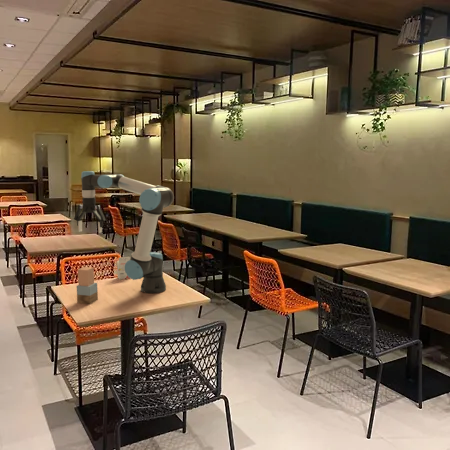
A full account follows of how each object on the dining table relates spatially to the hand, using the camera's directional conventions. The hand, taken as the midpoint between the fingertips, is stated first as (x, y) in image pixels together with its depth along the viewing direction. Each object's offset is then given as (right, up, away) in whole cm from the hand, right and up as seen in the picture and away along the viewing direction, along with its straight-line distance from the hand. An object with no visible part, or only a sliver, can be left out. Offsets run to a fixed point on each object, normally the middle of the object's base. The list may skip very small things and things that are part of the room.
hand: (90, 232), depth 271 cm
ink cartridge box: (+15, -31, +28) cm, 44 cm away
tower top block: (+5, -34, -22) cm, 41 cm away
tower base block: (+5, -39, -22) cm, 44 cm away
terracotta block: (+5, -29, -23) cm, 37 cm away
